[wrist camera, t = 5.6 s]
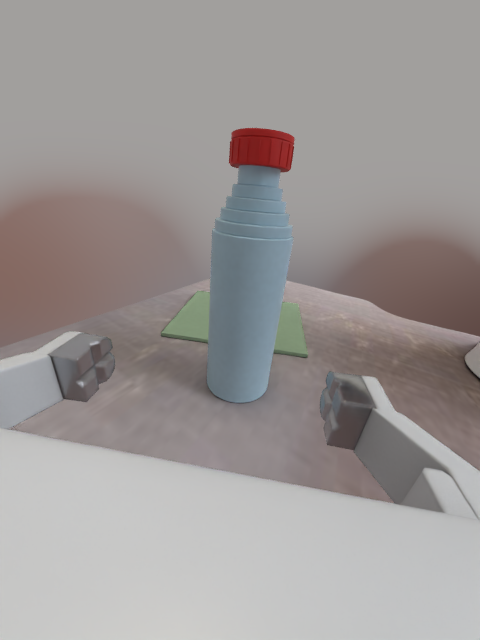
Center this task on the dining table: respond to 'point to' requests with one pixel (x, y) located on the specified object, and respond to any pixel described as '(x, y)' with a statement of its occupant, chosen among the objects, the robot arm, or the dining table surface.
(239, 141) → the cap
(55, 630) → the robot arm
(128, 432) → the dining table surface
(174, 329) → the mat
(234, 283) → the bottle
